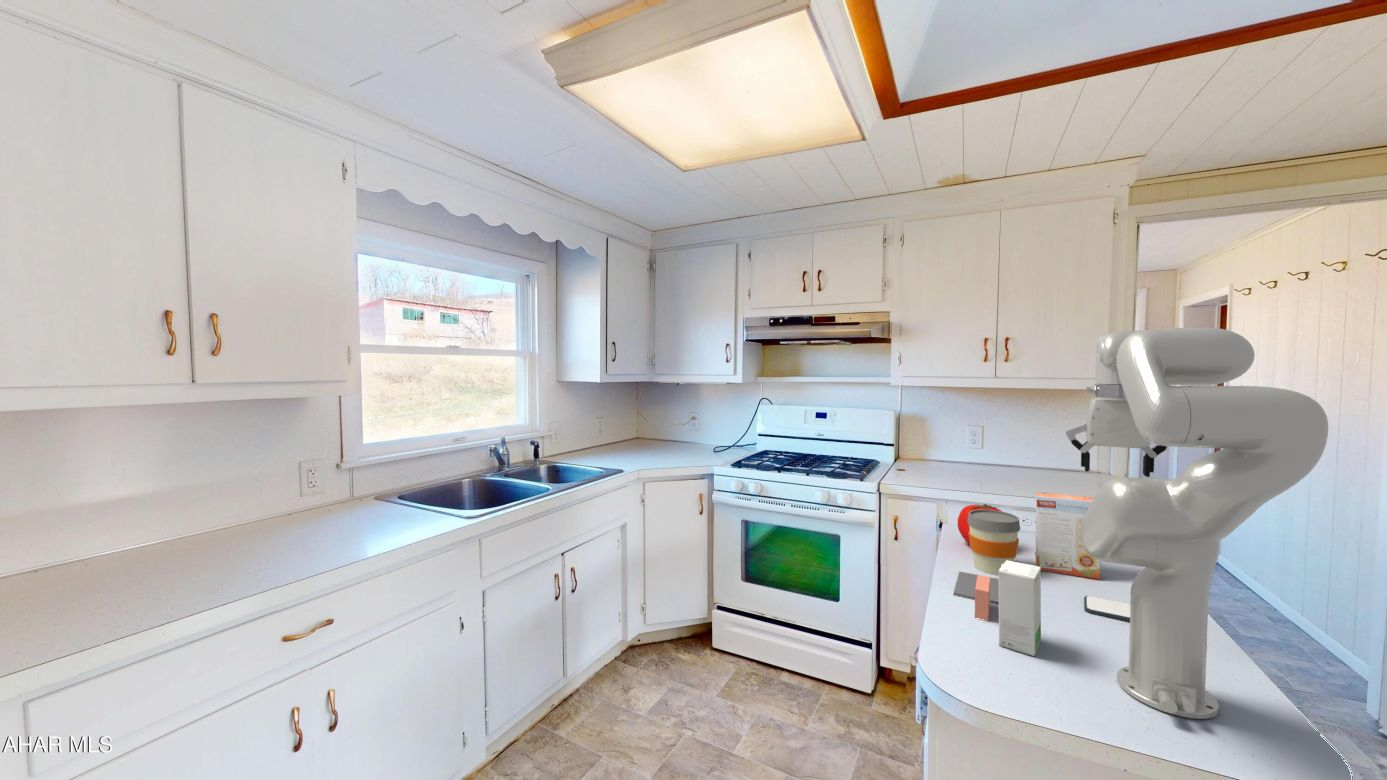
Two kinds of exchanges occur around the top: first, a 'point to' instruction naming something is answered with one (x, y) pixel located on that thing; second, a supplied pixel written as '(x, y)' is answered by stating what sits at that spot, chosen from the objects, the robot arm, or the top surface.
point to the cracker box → (1063, 535)
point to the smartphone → (1107, 608)
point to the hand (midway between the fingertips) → (1115, 472)
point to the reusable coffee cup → (992, 538)
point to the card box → (982, 597)
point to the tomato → (963, 518)
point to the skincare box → (1020, 607)
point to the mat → (968, 584)
